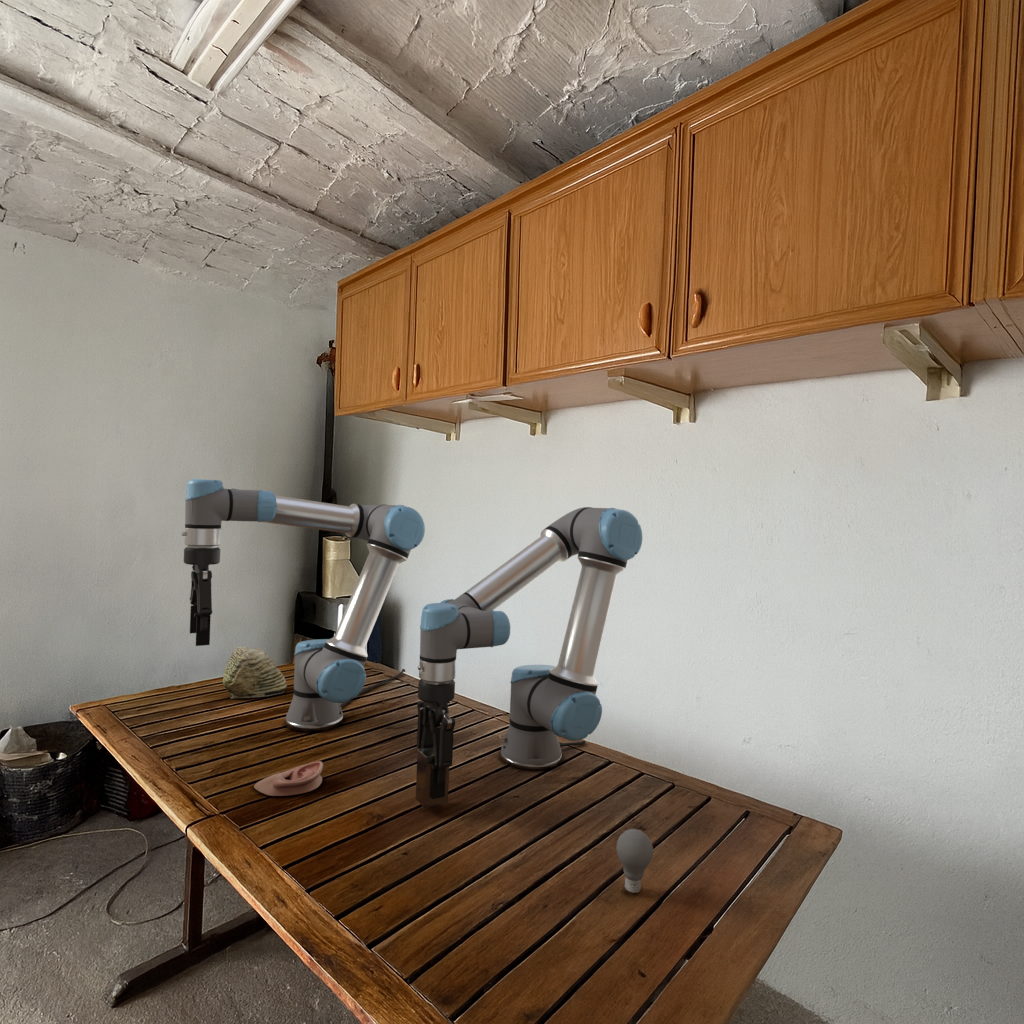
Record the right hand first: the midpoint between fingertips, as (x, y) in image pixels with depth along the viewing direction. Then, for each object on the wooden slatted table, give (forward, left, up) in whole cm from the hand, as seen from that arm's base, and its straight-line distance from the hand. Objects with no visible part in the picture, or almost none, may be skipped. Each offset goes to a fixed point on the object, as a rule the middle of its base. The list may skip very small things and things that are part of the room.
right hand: (432, 791), depth 131 cm
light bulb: (-2, +44, -4) cm, 45 cm away
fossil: (-15, -92, -4) cm, 93 cm away
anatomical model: (+14, -30, -4) cm, 33 cm away
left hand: (+22, -54, +26) cm, 64 cm away
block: (0, 0, -2) cm, 2 cm away
